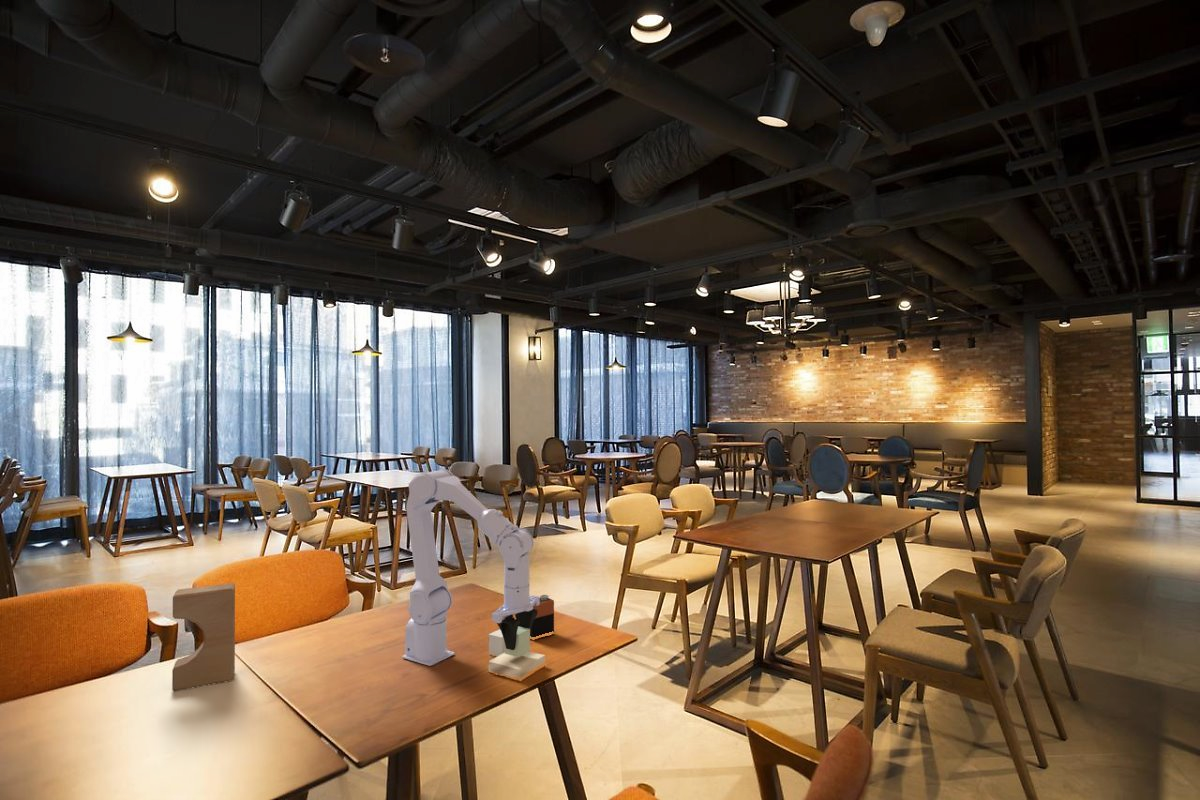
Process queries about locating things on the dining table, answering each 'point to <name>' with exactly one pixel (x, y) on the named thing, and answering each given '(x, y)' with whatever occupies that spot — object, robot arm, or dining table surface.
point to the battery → (543, 617)
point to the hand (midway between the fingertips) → (516, 645)
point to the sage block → (520, 643)
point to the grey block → (496, 643)
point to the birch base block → (515, 664)
